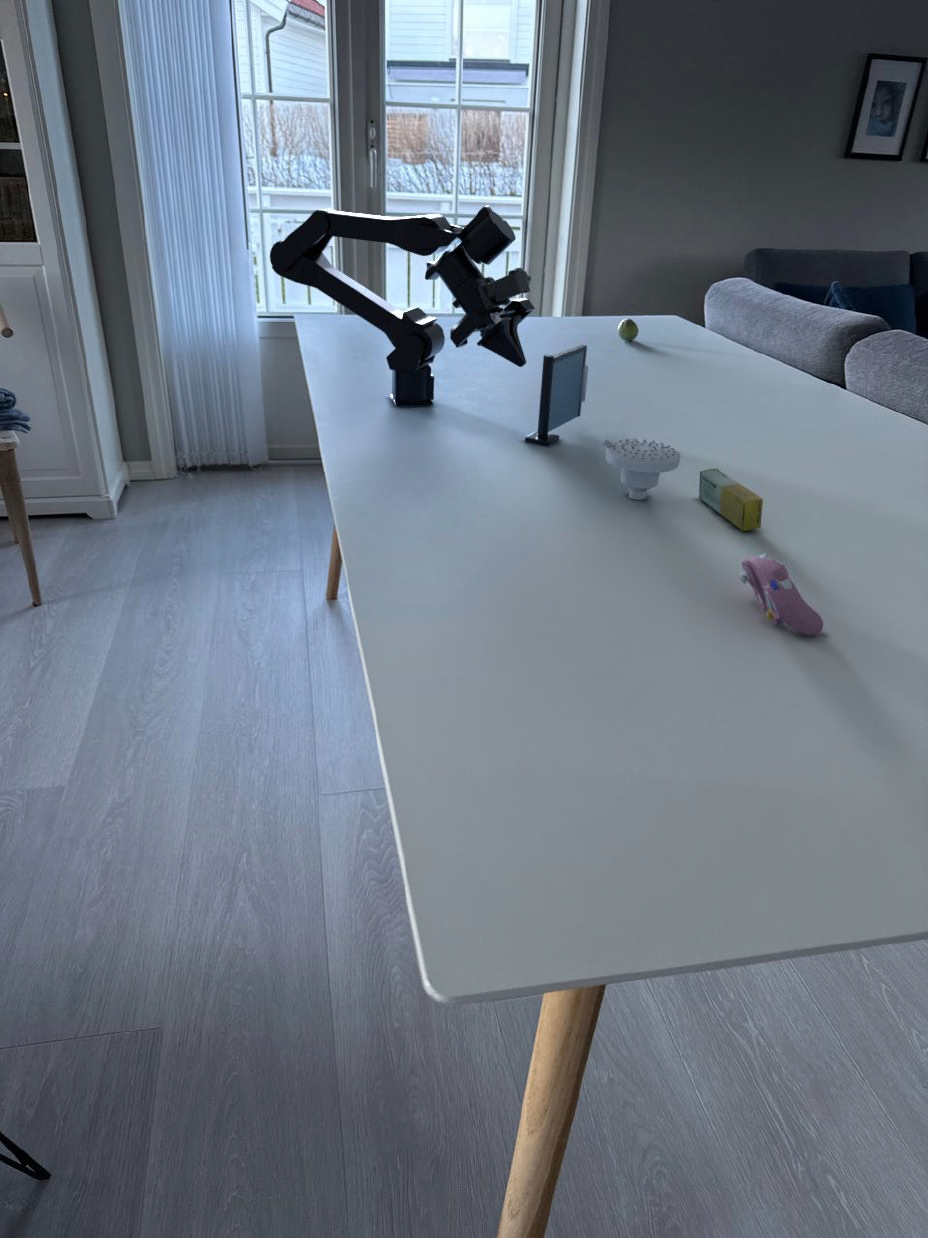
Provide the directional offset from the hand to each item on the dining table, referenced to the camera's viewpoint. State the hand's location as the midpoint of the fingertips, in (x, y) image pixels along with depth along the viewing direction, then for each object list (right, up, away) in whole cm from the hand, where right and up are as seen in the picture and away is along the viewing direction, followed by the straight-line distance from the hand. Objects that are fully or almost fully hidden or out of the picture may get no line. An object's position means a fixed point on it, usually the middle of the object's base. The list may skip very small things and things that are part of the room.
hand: (523, 365), depth 145 cm
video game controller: (+22, -41, -54) cm, 71 cm away
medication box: (+24, -28, -30) cm, 47 cm away
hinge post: (+3, -13, -5) cm, 15 cm away
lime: (+29, +25, +68) cm, 78 cm away
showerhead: (+13, -25, -26) cm, 38 cm away
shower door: (+7, -10, -1) cm, 12 cm away
